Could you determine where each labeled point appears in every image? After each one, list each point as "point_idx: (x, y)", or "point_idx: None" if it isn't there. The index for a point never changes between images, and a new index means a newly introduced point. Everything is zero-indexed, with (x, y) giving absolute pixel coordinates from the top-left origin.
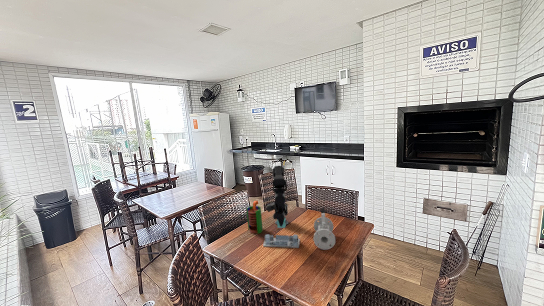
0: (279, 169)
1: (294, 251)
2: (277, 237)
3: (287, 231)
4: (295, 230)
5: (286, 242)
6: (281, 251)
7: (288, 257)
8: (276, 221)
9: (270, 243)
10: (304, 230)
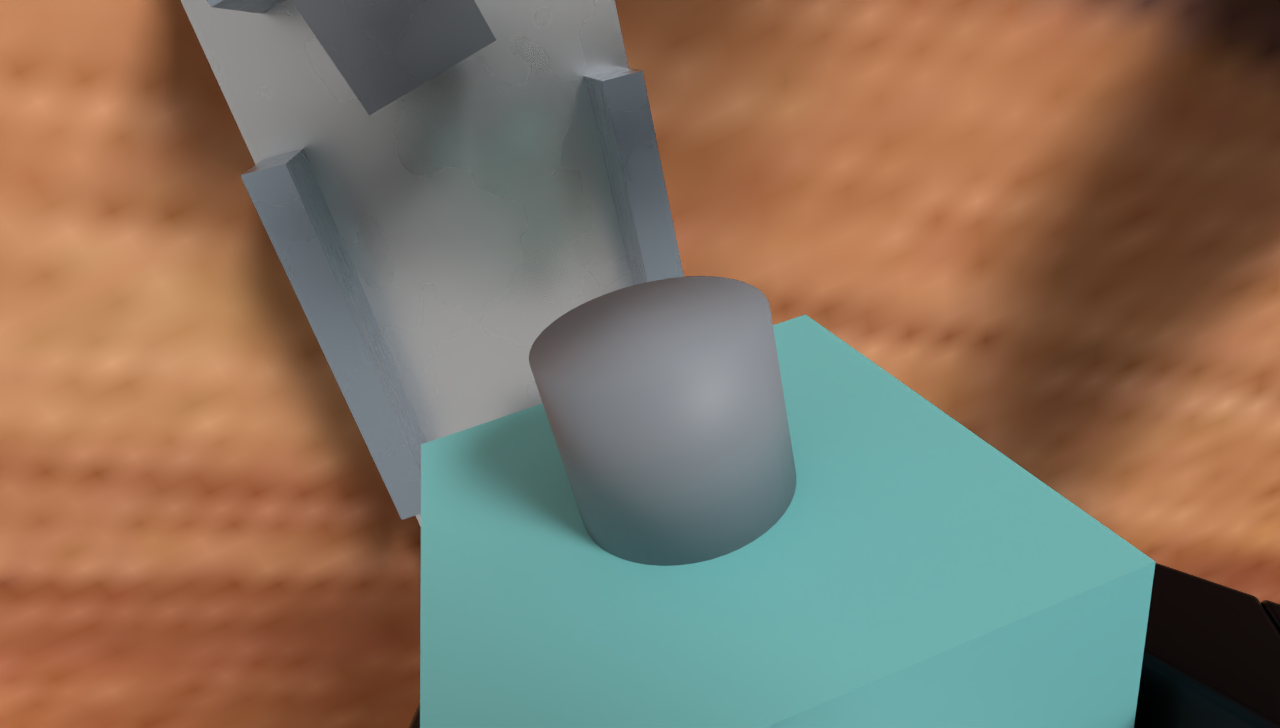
0: None
1: (330, 616)
2: (604, 130)
3: (1007, 189)
4: (1050, 331)
5: (394, 501)
6: (182, 411)
7: (68, 617)
8: (632, 490)
9: (282, 20)
10: (1052, 475)
